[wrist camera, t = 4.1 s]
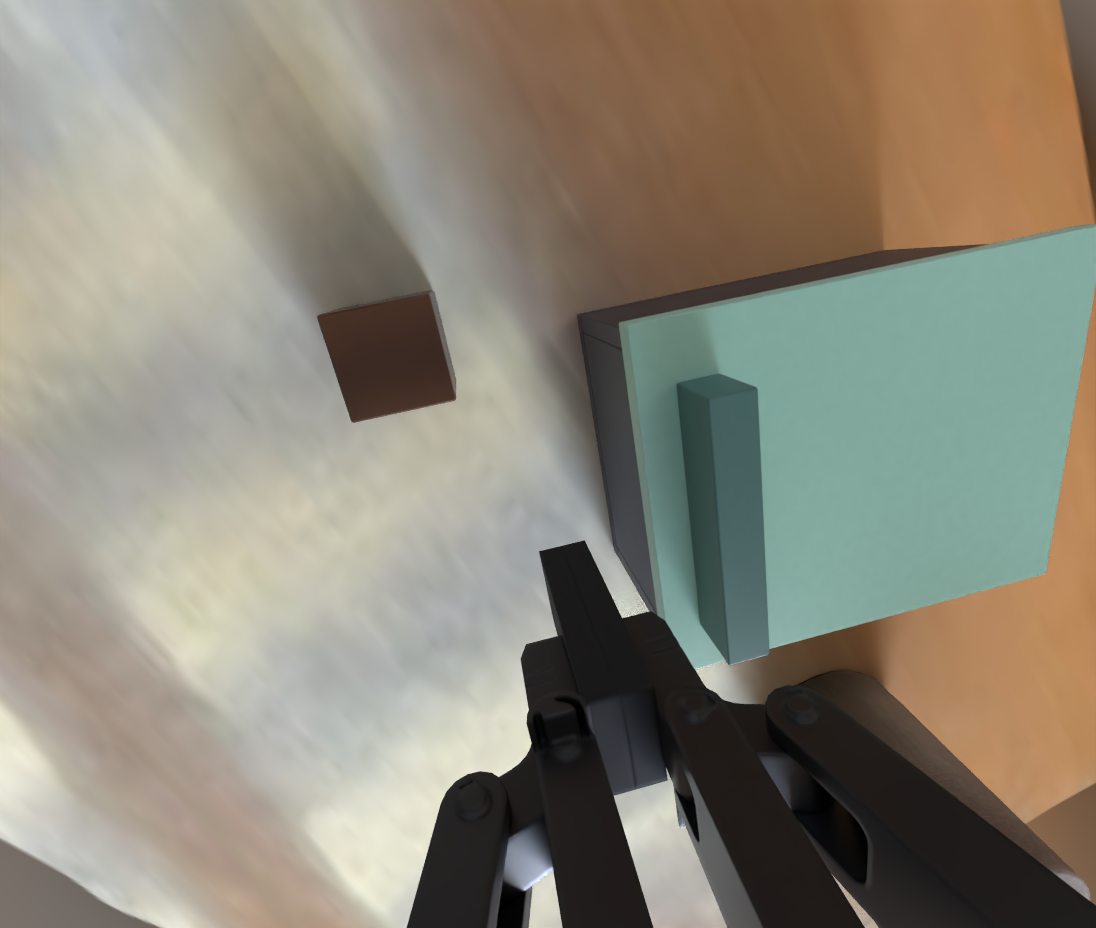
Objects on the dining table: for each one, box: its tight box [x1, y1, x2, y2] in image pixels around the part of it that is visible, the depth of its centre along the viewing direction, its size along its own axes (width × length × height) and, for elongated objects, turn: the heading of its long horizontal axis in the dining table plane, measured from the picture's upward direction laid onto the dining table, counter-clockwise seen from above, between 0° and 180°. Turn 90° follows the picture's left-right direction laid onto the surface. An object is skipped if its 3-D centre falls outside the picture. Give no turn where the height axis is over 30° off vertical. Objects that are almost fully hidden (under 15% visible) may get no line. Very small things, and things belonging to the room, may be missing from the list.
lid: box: [619, 224, 1096, 669], centre depth 20 cm, size 14×17×4 cm
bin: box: [577, 244, 988, 615], centre depth 26 cm, size 14×17×9 cm
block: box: [317, 290, 456, 423], centre depth 24 cm, size 4×4×4 cm
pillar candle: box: [800, 671, 1091, 928], centre depth 32 cm, size 10×10×15 cm
